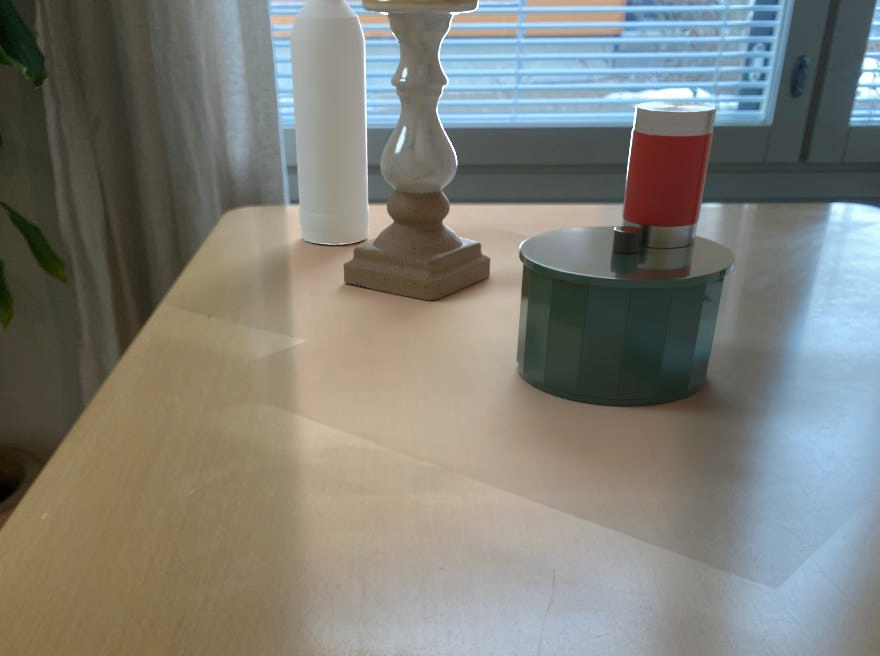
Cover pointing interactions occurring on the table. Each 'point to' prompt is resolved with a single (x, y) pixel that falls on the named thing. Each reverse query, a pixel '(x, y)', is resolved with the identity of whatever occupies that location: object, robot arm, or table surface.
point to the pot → (615, 340)
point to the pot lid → (623, 259)
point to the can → (667, 171)
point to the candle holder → (418, 169)
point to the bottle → (330, 122)
